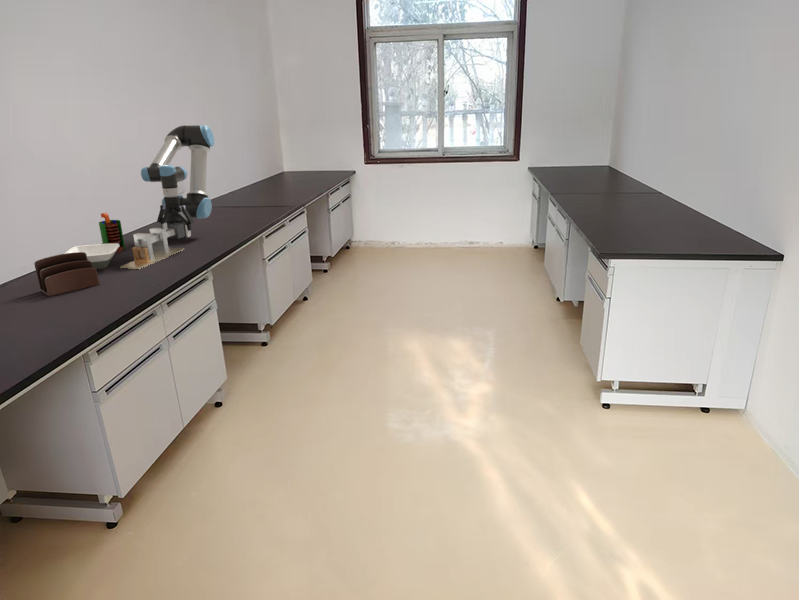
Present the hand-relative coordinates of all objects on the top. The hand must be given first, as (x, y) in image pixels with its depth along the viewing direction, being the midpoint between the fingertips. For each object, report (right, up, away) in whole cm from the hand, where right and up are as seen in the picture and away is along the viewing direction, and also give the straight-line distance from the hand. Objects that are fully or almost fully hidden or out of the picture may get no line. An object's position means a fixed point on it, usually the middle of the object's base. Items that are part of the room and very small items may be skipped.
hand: (177, 236), depth 286 cm
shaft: (-3, -5, -11) cm, 12 cm away
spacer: (-7, -16, -25) cm, 31 cm away
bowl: (-27, -18, -29) cm, 44 cm away
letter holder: (-21, -29, -58) cm, 69 cm away
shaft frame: (-5, -13, -17) cm, 22 cm away
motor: (-33, -8, -2) cm, 34 cm away
